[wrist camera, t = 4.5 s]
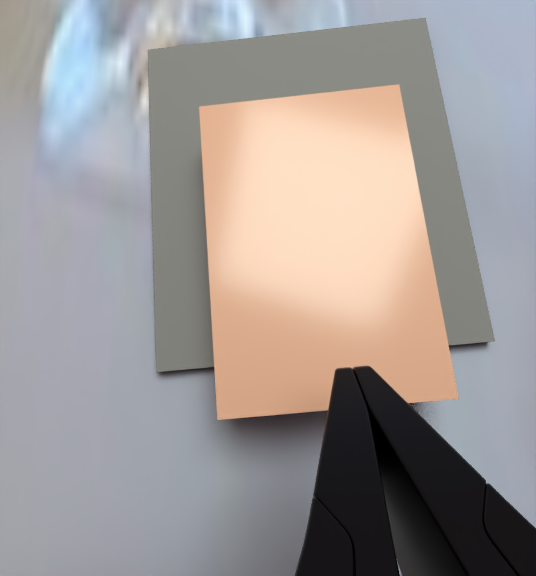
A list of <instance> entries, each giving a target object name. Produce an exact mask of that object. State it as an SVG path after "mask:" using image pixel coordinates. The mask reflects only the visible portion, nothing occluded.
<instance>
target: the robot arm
mask: <svg viewBox="0 0 536 576" xmlns="http://www.w3.org/2000/svg"><path fill="white" fill-rule="evenodd" d="M313 497H314V498H313V499H312V504H311V510H310V516H309V521H308V525H307V530H306V535H305V540H304V544H303V548H302V552H301V555H300V559H299V563H298V566H297V570H296V573H295V576H400V575H399V570H398V564H399V567H400V570H401V573H402V576H536V528H535V527H534V526H533V525H532V524H531V523H529V522H528V521H527V520H526V519H525V518H524V517H523V516H522V515H521V514H520V513H519V512H518V511H517V510H516V509H515V508H514V507H513V506H512V505H511V504H509V503H508V502H507V501H506V500H505V499H504V498H503V497H502V496H501V495H500V494H499V493H498V492H497V491H496V490H495V489H494V488H493V487H492V486H491V485H490V484H488V483H487V484H486V480H485V479H484V478H483V477H482V476H481V475H480V474H479V473H478V472H477V471H476V470H475V469H474V468H473V467H472V466H471V465H470V464H469V463H468V462H467V461H466V460H465V459H464V458H463V457H462V456H461V455H460V454H459V453H458V452H457V451H456V450H455V449H454V448H453V447H452V446H451V445H450V444H449V443H448V442H447V441H446V440H445V439H444V438H443V437H442V436H441V435H439V434H438V433H437V432H436V431H435V430H434V429H433V428H432V427H431V426H430V425H429V424H428V423H427V422H426V421H425V420H424V419H423V418H422V417H421V416H420V415H419V414H418V413H417V412H416V411H415V410H414V409H413V408H412V407H411V406H410V405H409V404H408V403H407V402H406V401H405V400H404V399H403V398H402V397H401V396H400V395H399V394H398V393H397V392H396V391H395V390H394V389H393V388H392V387H391V386H390V385H389V384H388V383H387V382H386V381H385V380H384V379H383V378H382V377H381V376H380V375H379V374H378V373H377V372H376V371H375V370H374V369H373V368H372V367H370V366H368V365H366V366H355V367H353V369H352V368H351V367H344V368H337V369H335V373H334V378H333V384H332V390H331V396H330V401H329V407H328V413H327V419H326V425H325V430H324V436H323V442H322V448H321V453H320V459H319V465H318V471H317V476H316V482H315V488H314V494H313ZM396 558H397V559H396ZM397 561H398V564H397Z"/></svg>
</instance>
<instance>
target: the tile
mask: <svg viewBox="0 0 536 576" xmlns="http://www.w3.org/2000/svg"><path fill="white" fill-rule="evenodd" d="M199 114H200V131H201V148H202V165H203V182H204V199H205V216H206V233H207V250H208V267H209V284H210V301H211V318H212V336H213V353H214V370H215V387H216V404H217V420H223V419H235V418H246V417H257V416H269V415H280V414H291V413H303V412H314V411H325V410H328V407H329V401H330V396H331V390H332V384H333V378H334V373H335V369H337V368H344V367H351V368H352V369H353V367H355V366H366V365H368V366H370V367H372V368H373V369H374V370H375V371H376V372H377V373H378V374H379V375H380V376H381V377H382V378H383V379H384V380H385V381H386V382H387V383H388V384H389V385H390V386H391V387H392V388H393V389H394V390H395V391H396V392H397V393H398V394H399V395H400V396H401V397H402V398H403V399H404V400H405V401H406V402H407V403H416V402H427V401H439V400H450V399H459V398H458V393H457V387H456V382H455V377H454V371H453V366H452V361H451V356H450V350H449V345H448V340H447V334H446V329H445V324H444V319H443V313H442V308H441V303H440V297H439V292H438V287H437V282H436V276H435V271H434V266H433V260H432V255H431V250H430V245H429V239H428V234H427V229H426V223H425V218H424V213H423V208H422V202H421V197H420V192H419V186H418V181H417V176H416V171H415V165H414V160H413V155H412V150H411V144H410V139H409V134H408V128H407V123H406V118H405V113H404V107H403V102H402V97H401V91H400V86H399V84H398V85H389V86H380V87H371V88H362V89H353V90H344V91H335V92H326V93H317V94H308V95H299V96H290V97H281V98H272V99H263V100H254V101H245V102H236V103H227V104H218V105H209V106H200V107H199Z"/></svg>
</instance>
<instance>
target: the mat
mask: <svg viewBox="0 0 536 576" xmlns="http://www.w3.org/2000/svg"><path fill="white" fill-rule="evenodd" d="M148 77H149V115H150V154H151V192H152V231H153V270H154V308H155V347H156V372H163V371H174V370H185V369H196V368H207V367H214V353H213V336H212V318H211V301H210V284H209V267H208V250H207V233H206V216H205V199H204V182H203V165H202V148H201V131H200V114H199V107H200V106H209V105H218V104H227V103H236V102H245V101H254V100H263V99H272V98H281V97H290V96H299V95H308V94H317V93H326V92H335V91H344V90H353V89H362V88H371V87H380V86H389V85H398V84H399V86H400V91H401V97H402V102H403V107H404V113H405V118H406V123H407V128H408V134H409V139H410V144H411V150H412V155H413V160H414V165H415V171H416V176H417V181H418V186H419V192H420V197H421V202H422V208H423V213H424V218H425V223H426V229H427V234H428V239H429V245H430V250H431V255H432V260H433V266H434V271H435V276H436V282H437V287H438V292H439V297H440V303H441V308H442V313H443V319H444V324H445V329H446V334H447V340H448V345H459V344H470V343H481V342H491V341H495V339H494V335H493V330H492V325H491V321H490V316H489V311H488V307H487V302H486V298H485V293H484V288H483V284H482V279H481V274H480V270H479V265H478V260H477V256H476V251H475V246H474V242H473V237H472V232H471V228H470V223H469V218H468V214H467V209H466V204H465V200H464V195H463V190H462V186H461V181H460V176H459V172H458V167H457V162H456V158H455V153H454V149H453V144H452V139H451V135H450V130H449V125H448V121H447V116H446V111H445V107H444V102H443V97H442V93H441V88H440V83H439V79H438V74H437V69H436V65H435V60H434V55H433V51H432V46H431V41H430V37H429V32H428V27H427V23H426V18H420V19H411V20H403V21H394V22H385V23H377V24H368V25H359V26H350V27H342V28H333V29H324V30H316V31H307V32H298V33H290V34H281V35H272V36H264V37H255V38H246V39H238V40H229V41H220V42H211V43H203V44H194V45H185V46H177V47H168V48H159V49H151V50H148Z"/></svg>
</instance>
